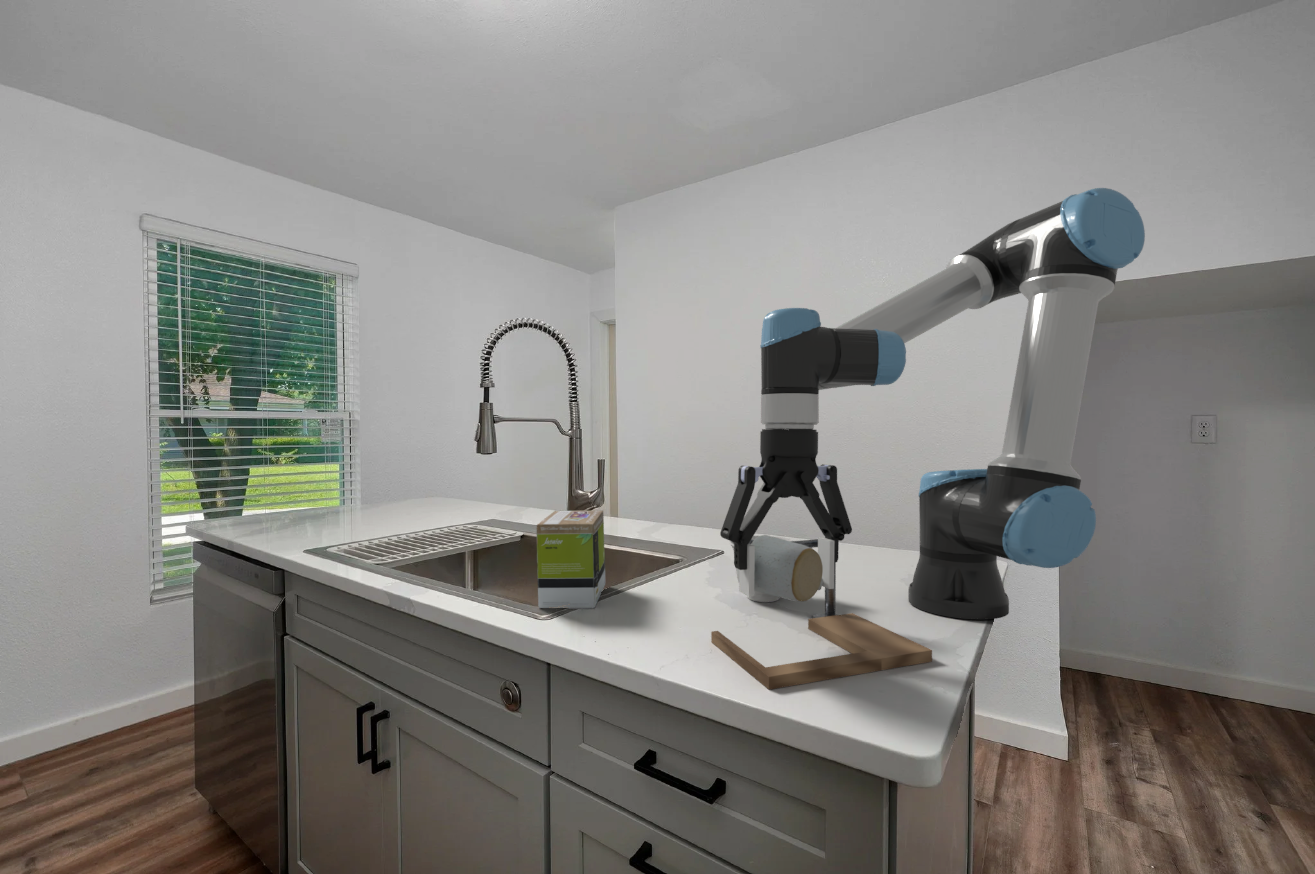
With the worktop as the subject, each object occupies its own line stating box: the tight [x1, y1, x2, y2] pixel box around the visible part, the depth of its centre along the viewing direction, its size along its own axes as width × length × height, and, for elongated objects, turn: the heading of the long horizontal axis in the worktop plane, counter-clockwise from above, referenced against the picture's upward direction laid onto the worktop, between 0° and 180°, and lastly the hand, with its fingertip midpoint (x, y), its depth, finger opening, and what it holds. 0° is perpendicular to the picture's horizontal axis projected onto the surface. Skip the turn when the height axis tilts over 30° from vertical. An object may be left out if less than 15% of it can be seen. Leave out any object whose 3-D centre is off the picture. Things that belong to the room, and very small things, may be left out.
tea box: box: [536, 510, 606, 610], centre depth 106 cm, size 15×10×15 cm, turn 178°
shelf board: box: [710, 612, 933, 691], centre depth 79 cm, size 24×16×2 cm, turn 109°
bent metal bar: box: [749, 538, 837, 619], centre depth 89 cm, size 17×4×14 cm, turn 109°
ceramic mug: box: [751, 534, 823, 602], centre depth 79 cm, size 11×8×8 cm
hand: (787, 590), depth 78 cm, fingers closed on ceramic mug, 11 cm apart
